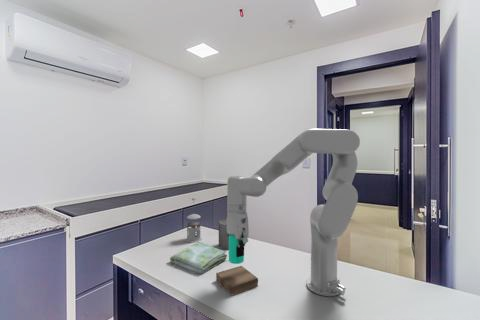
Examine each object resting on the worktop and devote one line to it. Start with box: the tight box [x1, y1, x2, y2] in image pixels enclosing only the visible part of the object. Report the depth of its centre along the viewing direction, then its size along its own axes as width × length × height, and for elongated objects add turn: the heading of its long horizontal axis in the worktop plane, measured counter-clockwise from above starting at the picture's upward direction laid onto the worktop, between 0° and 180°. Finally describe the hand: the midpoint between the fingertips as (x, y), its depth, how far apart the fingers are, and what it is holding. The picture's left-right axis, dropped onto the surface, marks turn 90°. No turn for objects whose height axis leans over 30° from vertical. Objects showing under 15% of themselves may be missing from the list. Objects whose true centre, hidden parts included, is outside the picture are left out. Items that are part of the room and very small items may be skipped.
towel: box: [169, 241, 228, 275], centre depth 113 cm, size 18×21×5 cm
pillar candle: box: [218, 218, 229, 250], centre depth 131 cm, size 10×10×15 cm
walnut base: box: [215, 265, 259, 296], centre depth 94 cm, size 12×12×3 cm
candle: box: [228, 234, 245, 265], centre depth 94 cm, size 6×6×12 cm
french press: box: [185, 197, 203, 244], centre depth 141 cm, size 10×12×25 cm
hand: (236, 253), depth 94 cm, fingers closed on candle, 4 cm apart
